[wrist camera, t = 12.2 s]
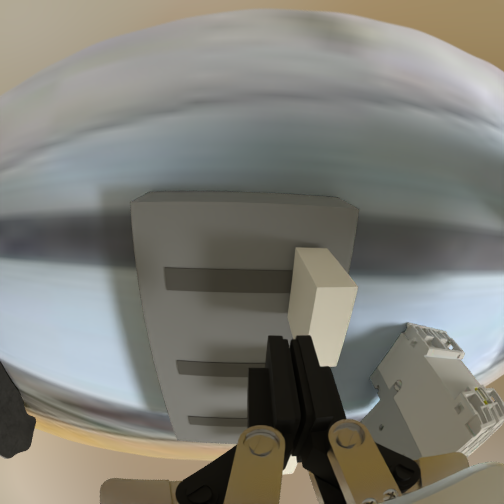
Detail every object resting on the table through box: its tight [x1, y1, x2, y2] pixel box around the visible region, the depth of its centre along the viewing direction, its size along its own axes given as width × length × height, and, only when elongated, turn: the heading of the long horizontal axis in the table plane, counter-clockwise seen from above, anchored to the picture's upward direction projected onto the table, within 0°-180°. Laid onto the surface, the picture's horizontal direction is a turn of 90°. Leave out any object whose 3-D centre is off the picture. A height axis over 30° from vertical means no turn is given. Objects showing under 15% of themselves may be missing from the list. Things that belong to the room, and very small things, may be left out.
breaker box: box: [130, 191, 359, 474], centre depth 20 cm, size 14×26×9 cm, turn 177°
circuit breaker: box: [360, 322, 504, 460], centre depth 21 cm, size 8×14×15 cm, turn 160°
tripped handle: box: [287, 247, 358, 367], centre depth 15 cm, size 2×5×5 cm, turn 178°
